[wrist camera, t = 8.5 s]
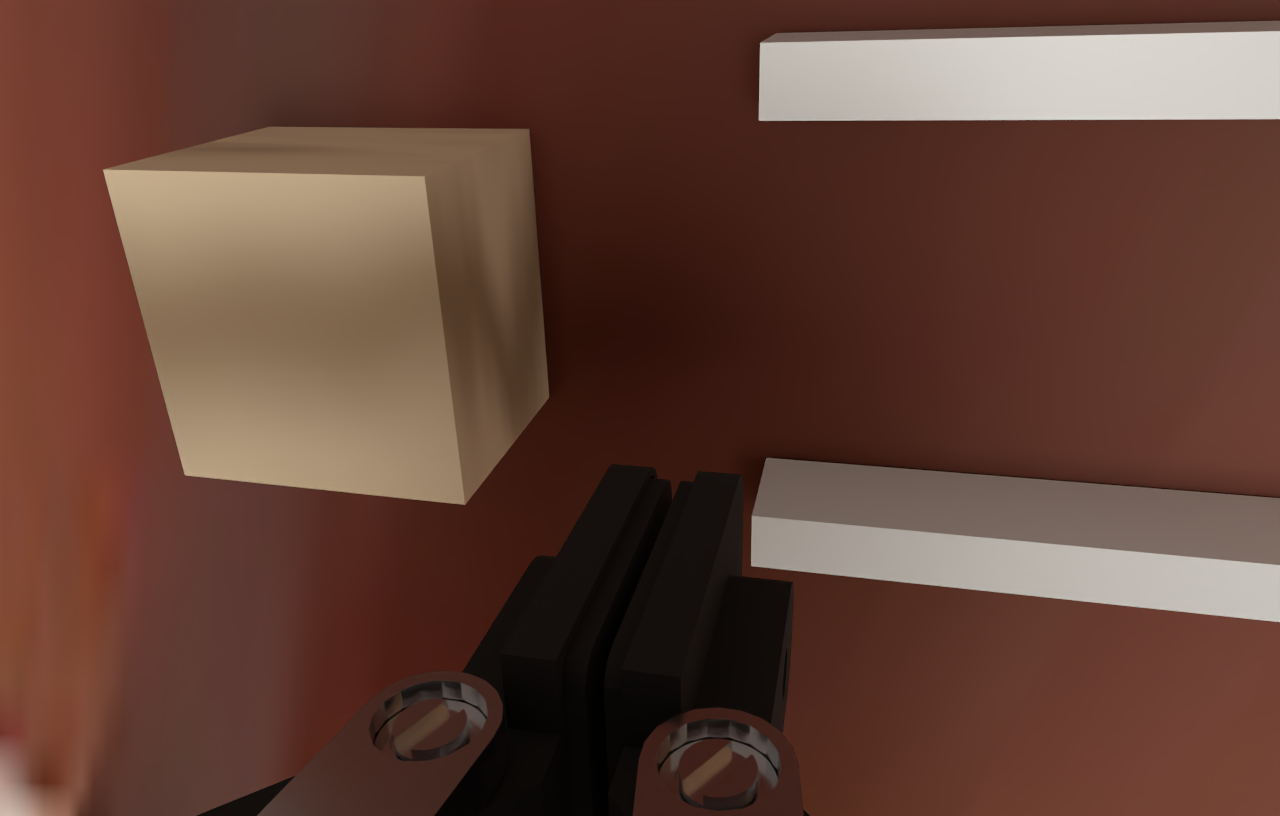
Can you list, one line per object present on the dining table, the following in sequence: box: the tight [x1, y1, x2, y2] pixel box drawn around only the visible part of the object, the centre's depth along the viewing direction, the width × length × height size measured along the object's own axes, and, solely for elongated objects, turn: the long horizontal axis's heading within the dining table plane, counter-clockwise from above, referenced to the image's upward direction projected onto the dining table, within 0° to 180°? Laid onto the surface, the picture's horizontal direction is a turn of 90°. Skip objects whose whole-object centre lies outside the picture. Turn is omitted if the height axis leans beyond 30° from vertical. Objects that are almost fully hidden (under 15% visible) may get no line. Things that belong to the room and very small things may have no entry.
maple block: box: [103, 127, 549, 505], centre depth 19 cm, size 6×6×5 cm
